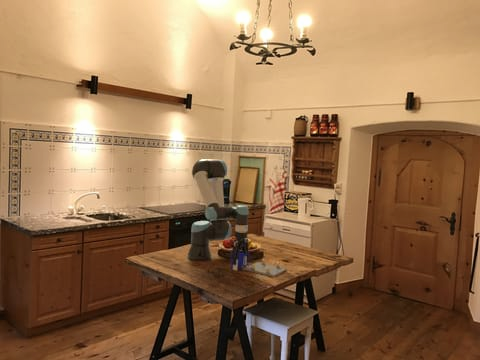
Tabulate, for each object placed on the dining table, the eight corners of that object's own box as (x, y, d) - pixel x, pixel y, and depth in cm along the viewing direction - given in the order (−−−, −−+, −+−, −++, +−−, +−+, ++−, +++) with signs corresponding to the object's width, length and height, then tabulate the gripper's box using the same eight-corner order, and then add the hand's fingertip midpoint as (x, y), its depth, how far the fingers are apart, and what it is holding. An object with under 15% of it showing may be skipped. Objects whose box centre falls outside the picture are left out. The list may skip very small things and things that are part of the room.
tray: (244, 270, 240) (244, 263, 239) (257, 263, 253) (257, 257, 253) (274, 277, 229) (274, 270, 229) (286, 270, 243) (286, 263, 242)
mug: (248, 271, 238) (248, 254, 237) (228, 269, 240) (228, 252, 239) (250, 267, 246) (251, 251, 245) (231, 265, 248) (231, 249, 247)
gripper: (236, 235, 229) (234, 273, 231) (255, 229, 248) (254, 265, 250) (225, 233, 233) (224, 271, 235) (245, 227, 252) (243, 262, 254)
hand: (239, 267), depth 243 cm, fingers open, 9 cm apart
